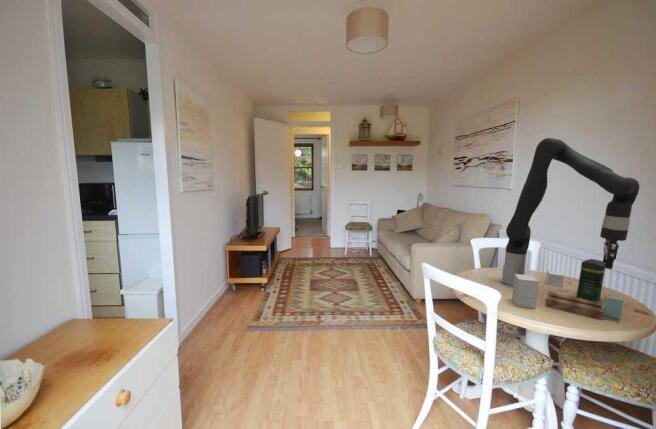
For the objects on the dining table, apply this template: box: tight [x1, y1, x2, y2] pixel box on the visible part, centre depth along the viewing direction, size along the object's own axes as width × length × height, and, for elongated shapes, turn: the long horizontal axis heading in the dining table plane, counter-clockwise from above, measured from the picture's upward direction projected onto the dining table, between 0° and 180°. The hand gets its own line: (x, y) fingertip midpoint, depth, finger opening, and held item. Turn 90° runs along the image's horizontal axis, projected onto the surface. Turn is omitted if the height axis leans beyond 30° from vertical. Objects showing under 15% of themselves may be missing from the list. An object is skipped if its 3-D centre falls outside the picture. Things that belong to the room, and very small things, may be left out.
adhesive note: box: [545, 270, 564, 288], centre depth 150 cm, size 6×6×6 cm
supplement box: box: [511, 274, 539, 309], centre depth 125 cm, size 7×7×13 cm
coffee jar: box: [576, 258, 606, 302], centre depth 132 cm, size 10×8×19 cm
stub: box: [602, 293, 625, 320], centre depth 114 cm, size 5×2×9 cm, turn 50°
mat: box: [603, 315, 620, 323], centre depth 115 cm, size 4×6×1 cm
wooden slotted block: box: [545, 291, 604, 321], centre depth 122 cm, size 18×11×4 cm, turn 50°
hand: (607, 265), depth 116 cm, fingers open, 8 cm apart
